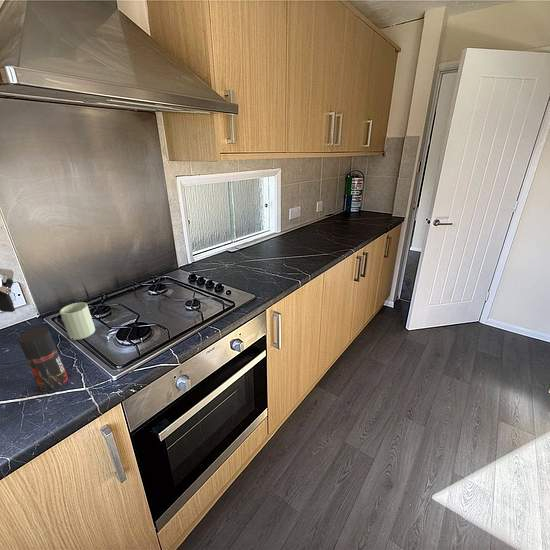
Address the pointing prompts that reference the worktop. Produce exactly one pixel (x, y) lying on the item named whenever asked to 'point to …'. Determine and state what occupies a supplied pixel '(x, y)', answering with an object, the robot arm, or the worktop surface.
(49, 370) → the deodorant
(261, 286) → the worktop surface
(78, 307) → the cup
